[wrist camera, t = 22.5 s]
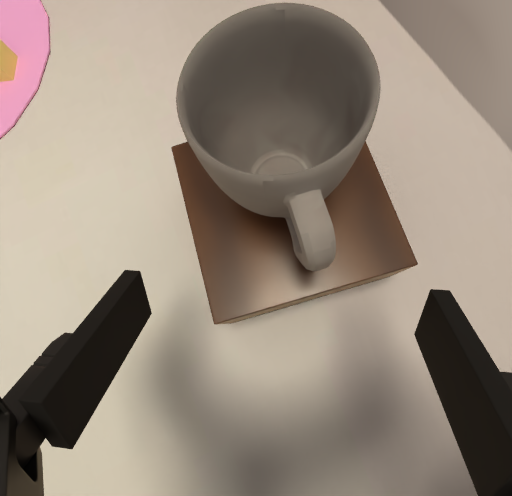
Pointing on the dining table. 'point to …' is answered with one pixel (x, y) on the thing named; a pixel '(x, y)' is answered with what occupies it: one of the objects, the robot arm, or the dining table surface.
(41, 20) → the platter
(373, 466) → the dining table surface
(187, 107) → the mug
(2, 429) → the robot arm
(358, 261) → the riser
